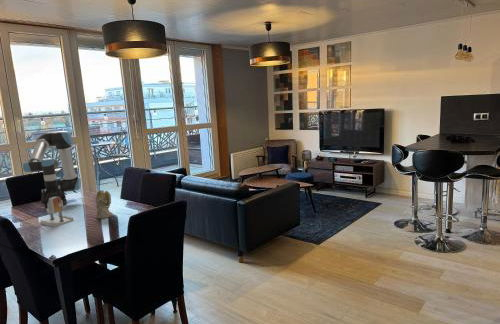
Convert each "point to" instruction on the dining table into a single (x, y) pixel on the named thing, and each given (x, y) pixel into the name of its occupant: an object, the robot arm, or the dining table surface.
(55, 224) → the pin tray
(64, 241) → the dining table surface
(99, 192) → the figurine
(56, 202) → the small box
